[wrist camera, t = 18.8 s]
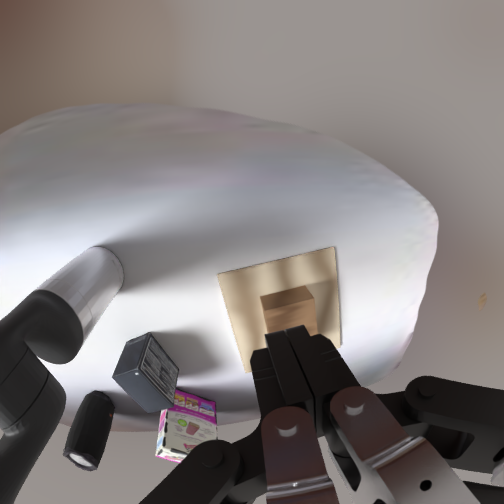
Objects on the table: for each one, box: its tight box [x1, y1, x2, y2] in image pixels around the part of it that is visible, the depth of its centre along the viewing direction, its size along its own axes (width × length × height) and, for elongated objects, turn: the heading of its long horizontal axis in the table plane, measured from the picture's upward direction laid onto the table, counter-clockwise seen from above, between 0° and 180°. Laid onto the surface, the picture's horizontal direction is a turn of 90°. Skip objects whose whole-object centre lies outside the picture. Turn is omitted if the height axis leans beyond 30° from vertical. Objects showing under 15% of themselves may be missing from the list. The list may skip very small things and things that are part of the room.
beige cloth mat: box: [217, 247, 340, 373], centre depth 48 cm, size 20×22×1 cm
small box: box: [112, 333, 179, 413], centre depth 43 cm, size 11×6×10 cm, turn 25°
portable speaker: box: [63, 391, 115, 471], centre depth 41 cm, size 9×9×20 cm
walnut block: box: [260, 285, 318, 336], centre depth 45 cm, size 8×5×11 cm
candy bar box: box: [156, 389, 218, 463], centre depth 45 cm, size 11×5×16 cm, turn 59°
